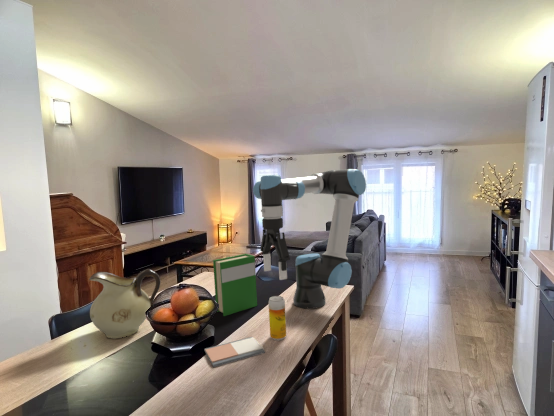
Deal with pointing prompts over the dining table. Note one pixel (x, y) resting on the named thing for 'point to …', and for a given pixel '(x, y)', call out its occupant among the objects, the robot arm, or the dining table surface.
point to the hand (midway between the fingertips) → (275, 274)
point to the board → (233, 351)
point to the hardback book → (235, 283)
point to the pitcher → (121, 303)
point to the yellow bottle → (277, 317)
